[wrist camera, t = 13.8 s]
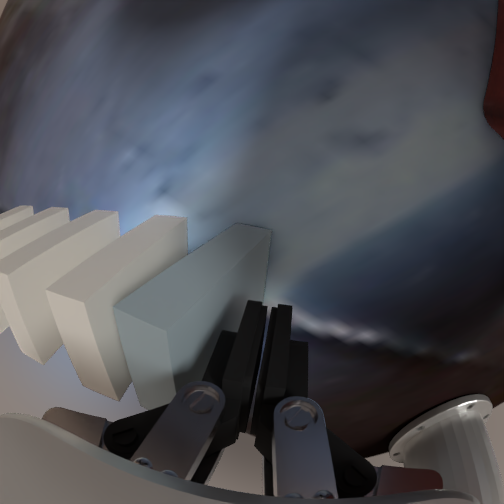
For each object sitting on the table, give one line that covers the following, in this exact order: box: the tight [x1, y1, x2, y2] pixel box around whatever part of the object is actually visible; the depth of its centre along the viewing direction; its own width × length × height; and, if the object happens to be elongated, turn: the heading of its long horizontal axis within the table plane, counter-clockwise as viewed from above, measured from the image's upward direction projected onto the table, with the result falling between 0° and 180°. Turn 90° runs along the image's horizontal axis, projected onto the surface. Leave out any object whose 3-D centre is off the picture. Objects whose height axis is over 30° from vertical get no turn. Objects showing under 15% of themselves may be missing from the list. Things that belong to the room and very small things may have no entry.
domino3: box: [0, 210, 120, 365], centre depth 13 cm, size 5×2×9 cm, turn 176°
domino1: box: [113, 223, 272, 410], centre depth 12 cm, size 5×2×9 cm, turn 175°
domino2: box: [45, 215, 188, 401], centre depth 13 cm, size 5×2×9 cm, turn 176°
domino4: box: [0, 207, 70, 334], centre depth 14 cm, size 5×2×9 cm, turn 176°
